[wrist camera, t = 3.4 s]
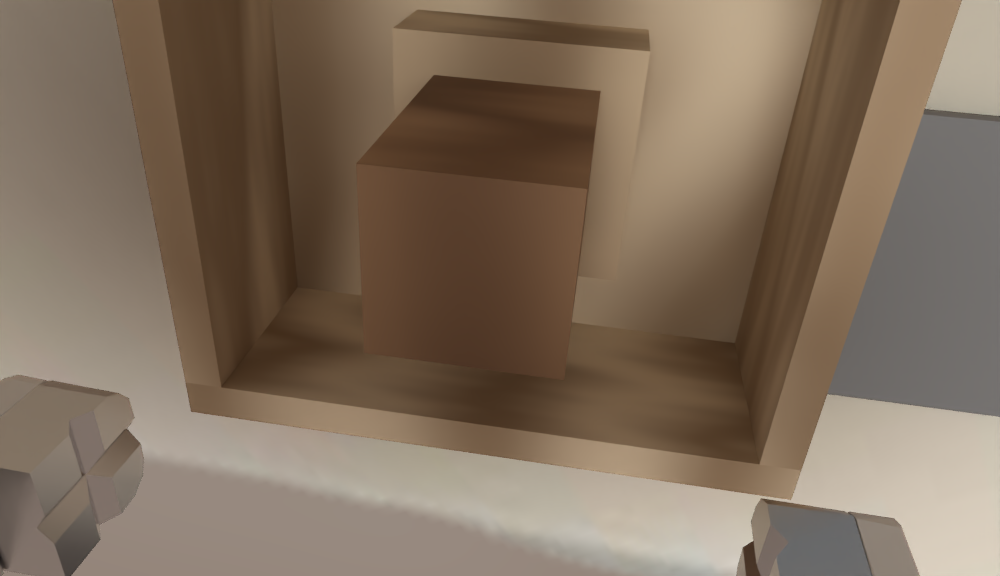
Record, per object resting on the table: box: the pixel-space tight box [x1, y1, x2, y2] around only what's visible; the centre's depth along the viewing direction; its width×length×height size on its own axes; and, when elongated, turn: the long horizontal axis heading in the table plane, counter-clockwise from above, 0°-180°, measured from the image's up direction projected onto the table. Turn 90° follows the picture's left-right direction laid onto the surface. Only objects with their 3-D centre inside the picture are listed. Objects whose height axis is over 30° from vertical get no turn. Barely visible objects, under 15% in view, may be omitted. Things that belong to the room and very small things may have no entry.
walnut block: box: [356, 75, 601, 380], centre depth 17 cm, size 4×4×6 cm
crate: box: [113, 0, 962, 500], centre depth 19 cm, size 16×14×6 cm
